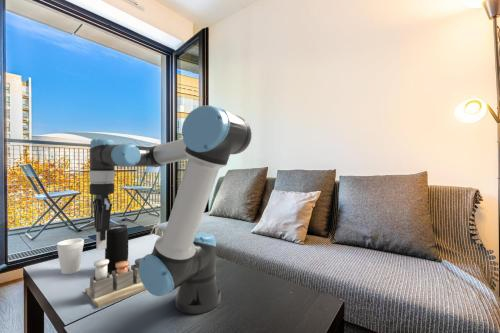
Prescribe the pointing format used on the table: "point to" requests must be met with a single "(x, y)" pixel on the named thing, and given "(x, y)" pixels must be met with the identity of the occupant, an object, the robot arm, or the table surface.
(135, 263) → the plunger charcoal
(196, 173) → the robot arm
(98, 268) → the plunger cream
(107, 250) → the portable speaker
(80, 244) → the foam cup
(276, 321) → the table surface
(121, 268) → the plunger terracotta
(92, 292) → the board
